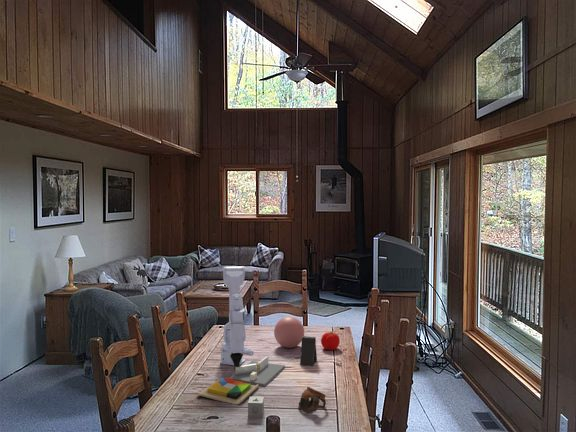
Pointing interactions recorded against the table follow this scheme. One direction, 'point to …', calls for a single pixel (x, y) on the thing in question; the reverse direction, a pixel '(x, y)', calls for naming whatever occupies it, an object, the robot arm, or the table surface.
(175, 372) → the table surface
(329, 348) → the tomato
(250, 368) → the hinge leaf
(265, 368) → the hinge base
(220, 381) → the wooden puzzle
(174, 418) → the table surface
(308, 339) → the phone stand
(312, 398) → the pottery mug
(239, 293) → the robot arm
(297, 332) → the balloon
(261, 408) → the dice cube
